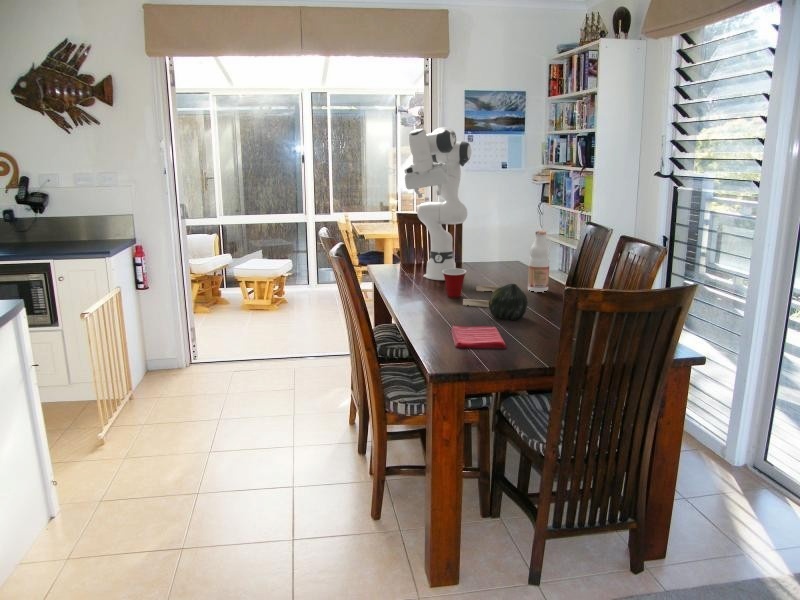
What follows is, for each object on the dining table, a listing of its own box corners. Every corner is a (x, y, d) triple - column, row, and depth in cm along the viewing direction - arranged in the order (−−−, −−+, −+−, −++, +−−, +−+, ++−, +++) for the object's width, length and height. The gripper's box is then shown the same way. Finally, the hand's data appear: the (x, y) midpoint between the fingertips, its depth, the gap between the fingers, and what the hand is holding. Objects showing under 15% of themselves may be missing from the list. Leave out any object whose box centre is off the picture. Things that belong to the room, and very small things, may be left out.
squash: (486, 298, 262) (491, 276, 249) (523, 300, 261) (530, 278, 249) (487, 327, 253) (492, 306, 241) (525, 329, 253) (532, 308, 241)
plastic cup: (438, 297, 287) (439, 271, 285) (445, 293, 297) (446, 267, 294) (462, 299, 284) (463, 273, 281) (468, 294, 294) (469, 269, 291)
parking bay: (476, 290, 303) (476, 285, 302) (516, 293, 297) (516, 287, 297) (462, 305, 274) (462, 299, 273) (506, 308, 268) (506, 302, 268)
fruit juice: (523, 290, 304) (526, 231, 297) (537, 287, 309) (540, 229, 302) (537, 293, 296) (541, 233, 290) (552, 291, 301) (555, 231, 295)
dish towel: (455, 350, 214) (456, 342, 213) (450, 331, 237) (450, 324, 236) (507, 350, 214) (507, 342, 213) (496, 331, 237) (496, 324, 236)
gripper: (447, 161, 286) (453, 191, 290) (406, 168, 295) (412, 197, 299) (442, 163, 281) (448, 194, 285) (401, 170, 290) (407, 200, 294)
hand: (429, 196), depth 292 cm, fingers open, 8 cm apart
